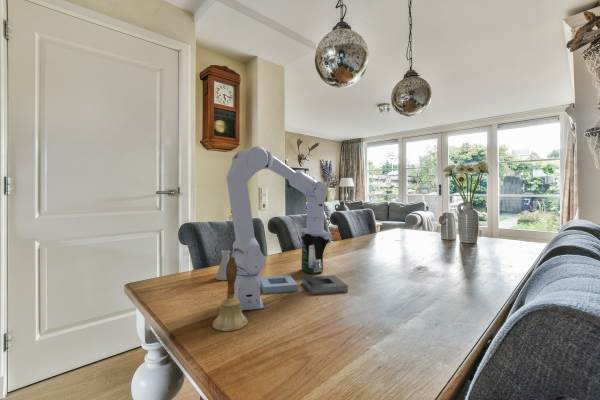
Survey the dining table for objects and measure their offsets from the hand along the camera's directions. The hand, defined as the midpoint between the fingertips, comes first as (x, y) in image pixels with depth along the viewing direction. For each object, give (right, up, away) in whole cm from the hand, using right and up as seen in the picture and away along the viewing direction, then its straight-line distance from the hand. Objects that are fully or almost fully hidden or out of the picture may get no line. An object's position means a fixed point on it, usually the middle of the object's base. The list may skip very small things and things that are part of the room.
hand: (314, 257), depth 96 cm
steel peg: (0, -3, 0) cm, 3 cm away
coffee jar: (0, -10, +20) cm, 22 cm away
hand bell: (-22, -11, -27) cm, 36 cm away
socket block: (+3, -10, 0) cm, 10 cm away
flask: (-32, -10, +9) cm, 35 cm away
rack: (-12, -10, 0) cm, 16 cm away
